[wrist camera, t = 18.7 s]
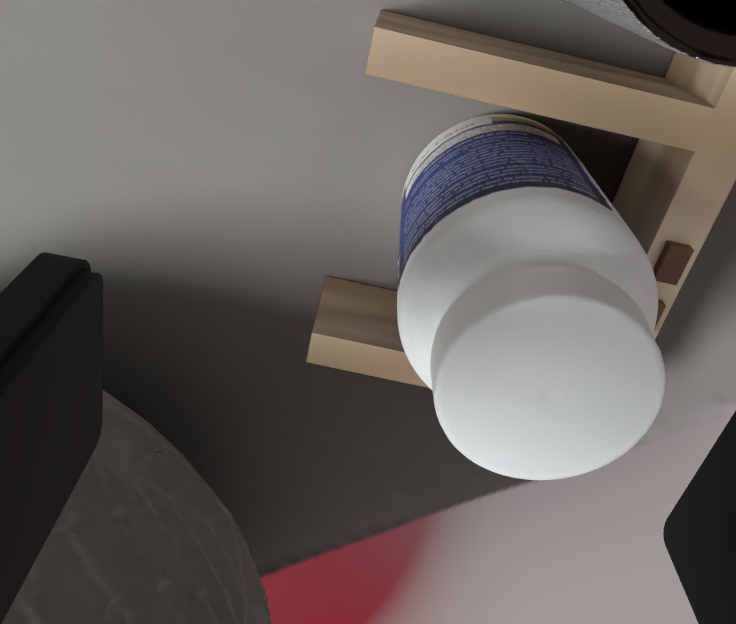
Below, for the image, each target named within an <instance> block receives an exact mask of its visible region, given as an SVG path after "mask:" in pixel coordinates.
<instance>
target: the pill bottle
mask: <svg viewBox="0 0 736 624" xmlns="http://www.w3.org/2000/svg"><path fill="white" fill-rule="evenodd" d="M398 264H399V272H398V290H397V319H398V328H399V334H400V339H401V342H402V346H403V348H404V351H405V353H406V356H407V358H408V360H409V362H410V364H411V365H412V367H413V368H414V370H415V371H416V373H417V374H418V376H419V377H420V378H421V379H422V380H423V381H424V383H425V384H426V385H427V386H428V387H429V388H430V389H431V390H432V391H433V399H434V405H435V410H436V415H437V417H438V420H439V422H440V425H441V427H442V428H443V430H444V432H445V434H446V435H447V437H448V438H449V440H450V441H451V443H452V444H453V445H454V446H455V448H456V449H458V450H459V451H460V452H461V453H462V454H463V455H464V456H466V457H467V458H468V459H470V460H471V461H473V462H474V463H476V464H477V465H479V466H481V467H483V468H486V469H488V470H490V471H492V472H495V473H498V474H501V475H504V476H509V477H513V478H520V479H528V480H555V479H562V478H568V477H574V476H577V475H581V474H584V473H587V472H590V471H593V470H596V469H598V468H600V467H603V466H605V465H607V464H609V463H611V462H612V461H614V460H616V459H617V458H619V457H620V456H622V455H623V454H625V453H626V452H627V451H629V450H630V449H631V448H632V447H633V446H634V445H635V444H636V443H638V442H639V441H640V439H641V438H642V437H643V436H644V435H645V434H646V432H647V431H648V430H649V429H650V427H651V426H652V424H653V422H654V421H655V419H656V417H657V415H658V413H659V411H660V409H661V406H662V404H663V400H664V395H665V388H666V371H665V367H664V362H663V358H662V355H661V352H660V349H659V347H658V345H657V343H656V341H655V339H654V337H653V332H654V329H655V324H656V319H657V311H658V289H657V284H656V279H655V275H654V272H653V268H652V266H651V263H650V261H649V258H648V257H647V255H646V253H645V251H644V249H643V248H642V246H641V244H640V243H639V241H638V240H637V238H636V237H635V235H634V234H633V233H632V231H631V230H630V228H629V227H628V226H627V224H626V223H625V222H624V220H623V219H622V218H621V216H620V215H619V213H618V212H617V210H616V209H615V208H614V207H613V205H612V204H611V203H610V201H609V200H608V199H607V197H606V196H605V194H604V193H603V192H602V190H601V189H600V187H599V186H598V185H597V183H596V182H595V180H594V179H593V178H592V176H591V175H590V173H589V172H588V171H587V169H586V168H585V166H584V164H583V163H582V162H581V161H580V159H579V158H578V157H577V156H576V155H575V153H574V152H573V151H572V150H571V148H570V147H569V146H568V145H567V144H566V143H565V141H564V140H563V139H562V138H561V137H560V136H558V135H557V134H556V133H554V132H553V131H552V130H550V129H549V128H547V127H546V126H544V125H543V124H541V123H539V122H536V121H534V120H532V119H529V118H525V117H522V116H517V115H511V114H490V115H484V116H479V117H474V118H471V119H468V120H466V121H463V122H461V123H458V124H456V125H455V126H453V127H451V128H449V129H448V130H446V131H444V132H443V133H441V134H440V135H439V136H437V137H436V138H435V139H434V140H432V141H431V142H430V143H429V144H428V145H427V146H426V148H425V149H424V150H423V151H422V152H421V154H420V155H419V156H418V158H417V159H416V161H415V162H414V164H413V166H412V168H411V170H410V172H409V175H408V177H407V180H406V183H405V186H404V189H403V195H402V204H401V226H400V248H399V258H398Z"/></svg>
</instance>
